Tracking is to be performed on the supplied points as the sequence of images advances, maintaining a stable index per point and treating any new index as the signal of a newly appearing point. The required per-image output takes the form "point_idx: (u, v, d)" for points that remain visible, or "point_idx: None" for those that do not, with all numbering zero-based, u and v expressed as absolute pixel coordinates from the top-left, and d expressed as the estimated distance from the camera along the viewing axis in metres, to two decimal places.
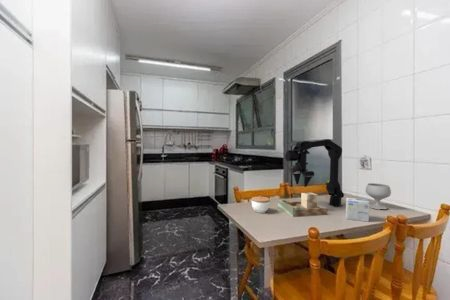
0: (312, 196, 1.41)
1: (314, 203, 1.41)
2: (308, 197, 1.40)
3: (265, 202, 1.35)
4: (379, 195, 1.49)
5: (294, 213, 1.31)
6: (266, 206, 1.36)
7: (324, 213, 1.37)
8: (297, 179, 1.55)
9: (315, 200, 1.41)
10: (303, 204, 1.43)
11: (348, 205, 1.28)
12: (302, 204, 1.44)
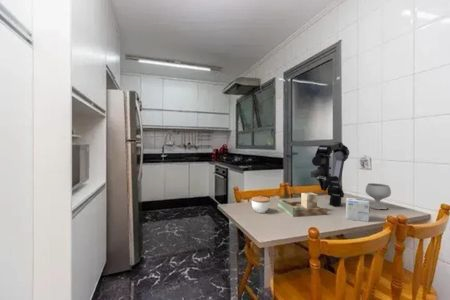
0: (312, 196, 1.41)
1: (314, 203, 1.41)
2: (308, 197, 1.40)
3: (265, 202, 1.35)
4: (379, 195, 1.49)
5: (294, 213, 1.31)
6: (266, 206, 1.36)
7: (324, 213, 1.37)
8: (322, 185, 1.47)
9: (315, 200, 1.41)
10: (303, 204, 1.43)
11: (348, 205, 1.28)
12: (302, 204, 1.44)
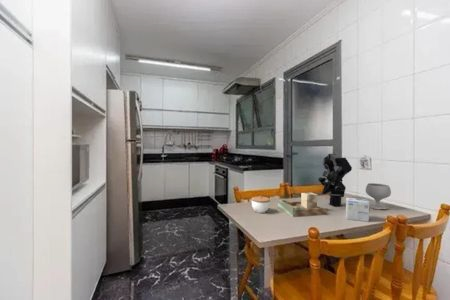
0: (312, 196, 1.41)
1: (314, 203, 1.41)
2: (308, 197, 1.40)
3: (265, 202, 1.35)
4: (379, 195, 1.49)
5: (294, 213, 1.31)
6: (266, 206, 1.36)
7: (324, 213, 1.37)
8: None
9: (315, 200, 1.41)
10: (303, 204, 1.43)
11: (348, 205, 1.28)
12: (302, 204, 1.44)
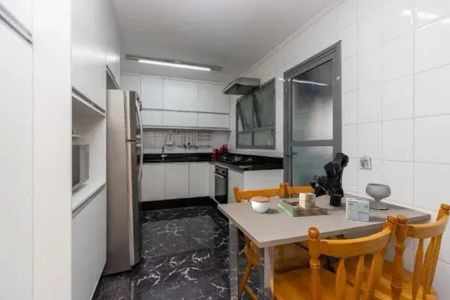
0: (310, 196, 1.40)
1: (312, 203, 1.41)
2: (306, 197, 1.40)
3: (265, 202, 1.35)
4: (379, 195, 1.49)
5: (294, 213, 1.31)
6: (266, 206, 1.36)
7: (324, 213, 1.37)
8: None
9: (313, 200, 1.41)
10: (301, 204, 1.43)
11: (348, 205, 1.28)
12: (300, 204, 1.44)
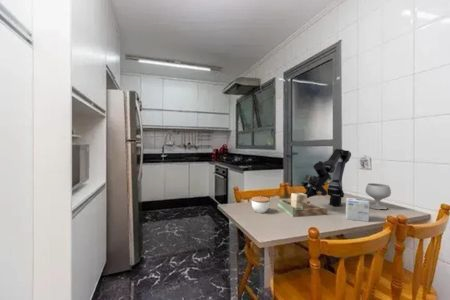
0: (302, 196, 1.39)
1: (304, 204, 1.39)
2: (297, 198, 1.38)
3: (265, 202, 1.35)
4: (379, 195, 1.49)
5: (294, 213, 1.31)
6: (266, 206, 1.36)
7: (324, 213, 1.37)
8: None
9: (305, 201, 1.39)
10: (293, 205, 1.41)
11: (348, 205, 1.28)
12: (292, 204, 1.42)
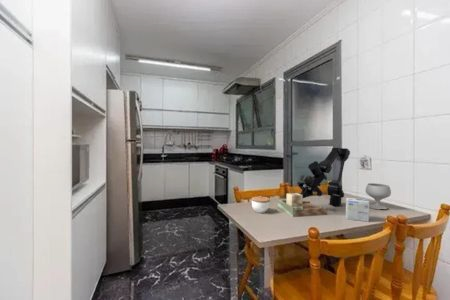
0: (297, 197, 1.38)
1: (299, 204, 1.39)
2: (293, 198, 1.37)
3: (265, 202, 1.35)
4: (379, 195, 1.49)
5: (294, 213, 1.31)
6: (266, 206, 1.36)
7: (324, 213, 1.37)
8: (303, 194, 1.43)
9: (300, 201, 1.39)
10: None
11: (348, 205, 1.28)
12: None
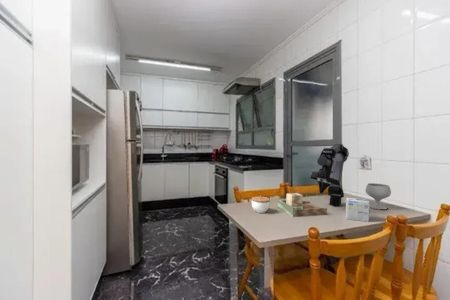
0: (297, 197, 1.38)
1: (299, 204, 1.39)
2: (293, 198, 1.37)
3: (265, 202, 1.35)
4: (379, 195, 1.49)
5: (294, 213, 1.31)
6: (266, 206, 1.36)
7: (324, 213, 1.37)
8: None
9: (300, 201, 1.39)
10: None
11: (348, 205, 1.28)
12: None
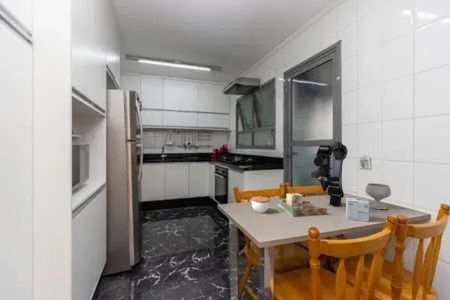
0: (297, 197, 1.38)
1: (299, 204, 1.39)
2: (293, 198, 1.37)
3: (265, 202, 1.35)
4: (379, 195, 1.49)
5: (294, 213, 1.31)
6: (266, 206, 1.36)
7: (324, 213, 1.37)
8: None
9: (300, 201, 1.39)
10: None
11: (348, 205, 1.28)
12: None
